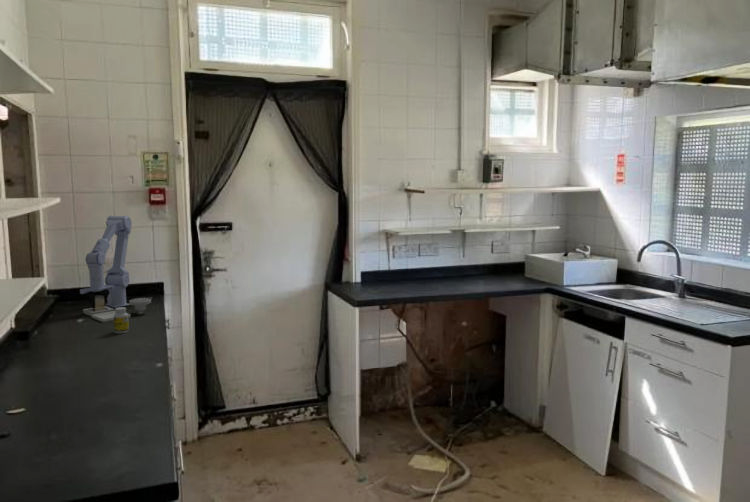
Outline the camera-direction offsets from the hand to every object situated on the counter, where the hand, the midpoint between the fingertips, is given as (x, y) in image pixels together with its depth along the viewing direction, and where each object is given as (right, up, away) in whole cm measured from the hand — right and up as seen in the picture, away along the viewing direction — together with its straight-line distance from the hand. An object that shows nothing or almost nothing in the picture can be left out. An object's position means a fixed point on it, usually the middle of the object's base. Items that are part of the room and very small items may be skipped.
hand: (98, 306), depth 262 cm
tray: (+10, -4, -9) cm, 14 cm away
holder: (0, -3, 0) cm, 3 cm away
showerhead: (+20, -3, 0) cm, 20 cm away
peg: (0, -3, 0) cm, 3 cm away
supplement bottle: (+25, -7, -31) cm, 41 cm away
